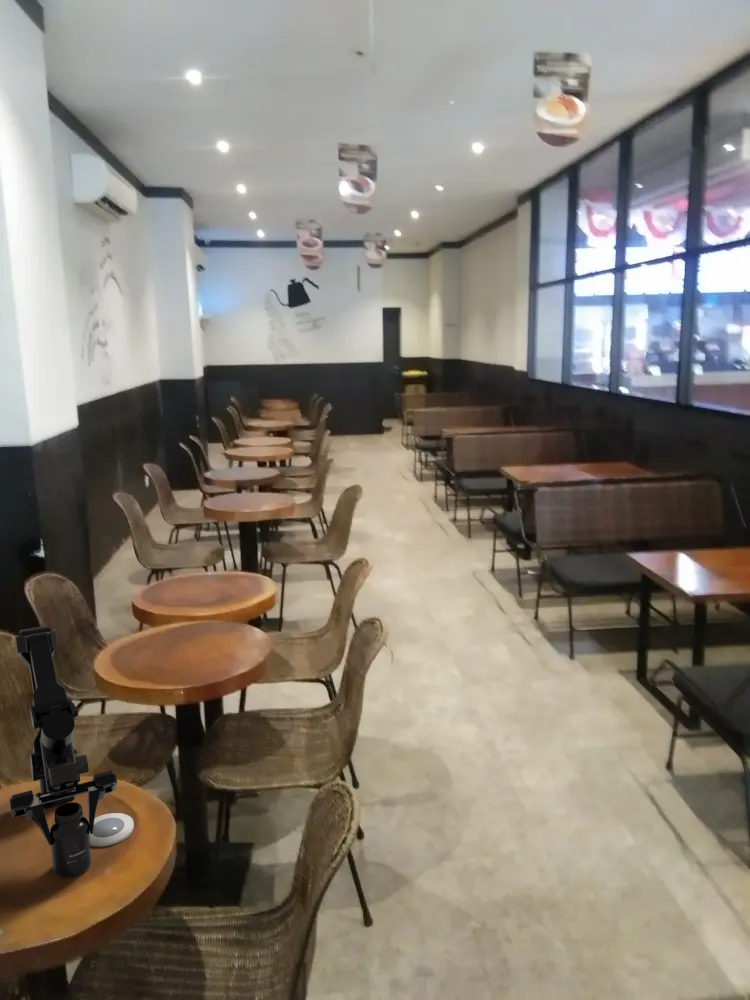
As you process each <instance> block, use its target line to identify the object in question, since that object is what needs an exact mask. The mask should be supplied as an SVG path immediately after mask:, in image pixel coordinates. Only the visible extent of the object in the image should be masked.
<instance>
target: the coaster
mask: <svg viewBox="0 0 750 1000" xmlns="http://www.w3.org/2000/svg"><path fill="white" fill-rule="evenodd" d="M134 823H135V822H134V820H133V818H132V817H131V816H130V815H128V814H126V813H119V812H112V813H111V812H110V813H105V814H103V815H99V816H97V817H96V816H95V819H94V827H93V834H90V845H91V846H92V847H96V848H99V847H100V848H101V847H109V846H113V845H116V844H118V843H120V842H123V841H124V840H126V839H127V838H128V837H129V836H131V835H132V833H133V832H134V829H135V824H134ZM89 832H90V831H89Z"/></svg>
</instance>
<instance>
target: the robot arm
mask: <svg viewBox="0 0 750 1000" xmlns="http://www.w3.org/2000/svg"><path fill="white" fill-rule="evenodd" d="M14 645H15V652H16V653H17V654H19V656H20V661H21V663H22V664H24V666H26V667H27V668H28V670H29V674H30V681H31V689H32V705H31V706H29V711H30V722H31V725H32V729H33V730H35V729H36V730H37V731H38V732H37V734H36V736H35V739H34V741H33V745H32V753H30V754H29V757H30V758H29V761H30V762H29V763H30V771H31V776H32V781H33V782H36V781H39V787H40V789H39V790H40V791H39V792H38V793H36V794H35V795H34V792H33V790H32V789H31V790H26V791H23V792H19V793H16V794H12V795H11V797H10V798H9V806H10V807H9V808H10V815H11V819H12V818H13V819H15V818H20V817H23V816H25V819H26V820H30V819H32V821H33V822H34V823H35V824H36V826H37V828H39V830H40V831H41V834H42V835H43V836H44V838H45V840H46V842H47V844H48V846H49V847H51V846H52V841H51V835H50V828H49V824H48V821H47V818H46V814H45V810H44V809H48V808H51V807H54V806H57V805H60V804H62V803H63V804H64V803H65V802H66V803H67V802H69V801H71V800H74V799H75V798H76V796H80V795H83V794H86V793H87V795H88V796H87V814H88V815H87V817H88V818H87V820H88V822H89V831H90V834H93V827H94V819H95V818H96V812H97V811H96V810H97V807H98V803H99V801H100V800H103V799H104V798H105V795H106V794H110V793H113V792H115V791H116V789H117V787H118V786H117V785H118V779H117V774H116V772H115V771H113V770H108V771H104V772H100V773H95V774H93V776H92V780H90V781H85V782H82V783H80V782H81V775H80V774H85V773H89V769H90V768H89V763H88V758H87V754H82V755H78V750H77V749H75V747H74V743H73V738H74V733H75V722H76V717H78V716H79V715H78V709H77V706H76V704H75V702H73V701H72V698H71V697H70V698H68V694H67V691H66V687H64V686H63V685H61V684H60V683H59V682H58V679H57V673H56V669H55V663H54V658H53V657H54V653H55V647H56V648H57V647H58V646H59V645H58V637H57V630H56V629H52V628H51V627H50V626H49V625H46V626H39V627H32V628H26V629H20V630H19V633H18V635H14Z"/></svg>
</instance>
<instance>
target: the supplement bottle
mask: <svg viewBox="0 0 750 1000" xmlns="http://www.w3.org/2000/svg"><path fill="white" fill-rule="evenodd" d="M49 831H50V835H51V841H52V846H50V849H51V850H50V851H51V862H52V871H53V873H54V874H55V875H56V876H58V877H59V878H67V879H68V878H73V877H76V876H79V874H80V875H82V874H83V873H84V871H85V872H86V871H87V870H88V869H89V867H90V866H91V864H92V847H91V846H90V832H89V820H88V818H87V817H85V816H84V813H83V806H82V804H81V803H79V802H76V801H75V802H72V801H71V802H66V803H63V804H62V803H61V805H60V804H59V806H57V807H56V808H55V810H54V822H53V823H52V825H51V827H50V828H49ZM81 873H82V874H81Z"/></svg>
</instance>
